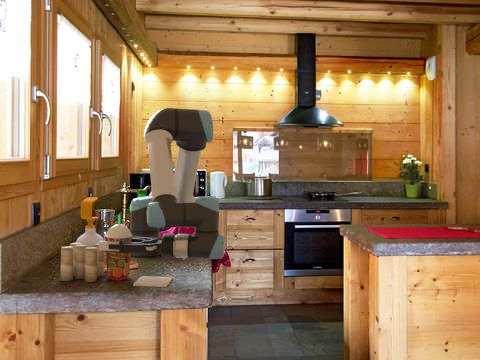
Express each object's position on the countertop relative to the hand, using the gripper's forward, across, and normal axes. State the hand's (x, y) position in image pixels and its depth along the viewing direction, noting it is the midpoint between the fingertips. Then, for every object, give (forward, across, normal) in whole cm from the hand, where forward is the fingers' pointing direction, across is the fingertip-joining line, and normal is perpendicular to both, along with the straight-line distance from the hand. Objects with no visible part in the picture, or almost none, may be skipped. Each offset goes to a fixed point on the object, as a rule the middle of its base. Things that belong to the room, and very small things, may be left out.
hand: (103, 243), depth 148 cm
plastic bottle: (+3, +61, -11) cm, 62 cm away
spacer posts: (+6, 0, -11) cm, 13 cm away
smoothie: (-5, 0, -11) cm, 12 cm away
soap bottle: (+8, +11, -11) cm, 18 cm away
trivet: (-17, -3, -11) cm, 20 cm away
